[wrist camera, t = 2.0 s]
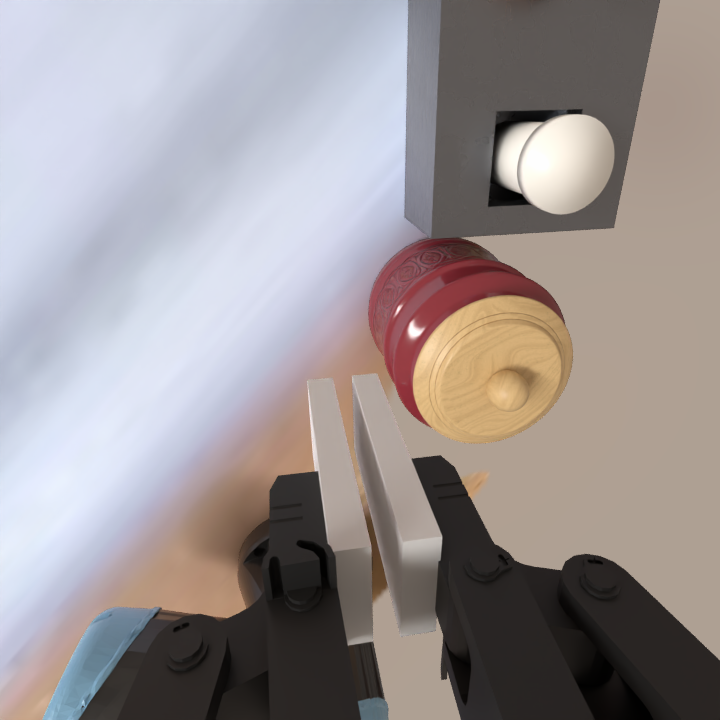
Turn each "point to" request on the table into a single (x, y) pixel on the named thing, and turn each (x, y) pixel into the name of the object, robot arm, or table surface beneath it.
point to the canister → (468, 340)
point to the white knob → (553, 161)
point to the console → (514, 102)
